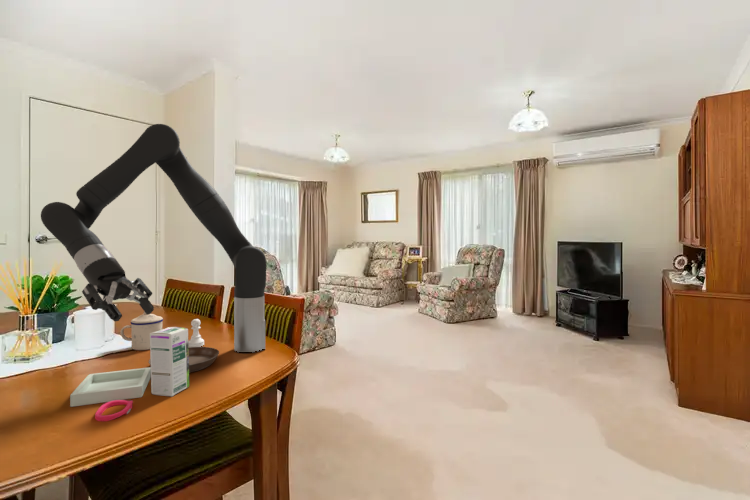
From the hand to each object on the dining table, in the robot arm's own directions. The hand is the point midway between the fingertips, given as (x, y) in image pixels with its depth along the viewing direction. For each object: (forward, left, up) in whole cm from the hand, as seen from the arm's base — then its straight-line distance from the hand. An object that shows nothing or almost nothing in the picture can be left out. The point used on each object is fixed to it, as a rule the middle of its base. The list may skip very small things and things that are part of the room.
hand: (135, 315), depth 90 cm
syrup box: (-8, +7, -17) cm, 20 cm away
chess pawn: (-12, -30, -17) cm, 37 cm away
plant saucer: (-10, -11, -18) cm, 23 cm away
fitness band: (+2, +14, -18) cm, 23 cm away
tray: (+4, +2, -17) cm, 18 cm away
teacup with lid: (+4, -35, -17) cm, 40 cm away
